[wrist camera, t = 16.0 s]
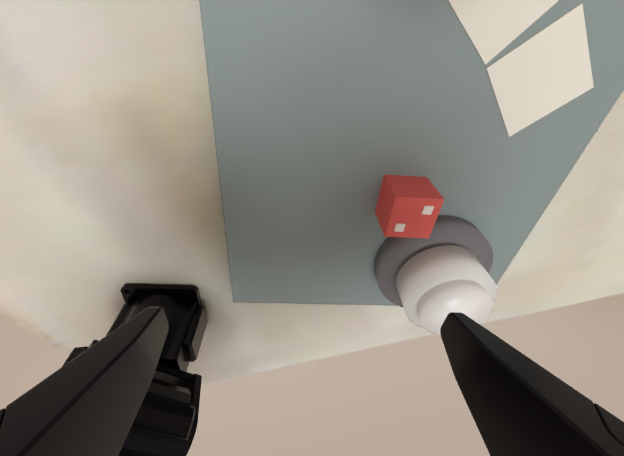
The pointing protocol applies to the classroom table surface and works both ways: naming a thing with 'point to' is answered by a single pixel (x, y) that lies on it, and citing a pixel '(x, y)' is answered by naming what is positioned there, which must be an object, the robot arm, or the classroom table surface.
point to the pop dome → (445, 287)
